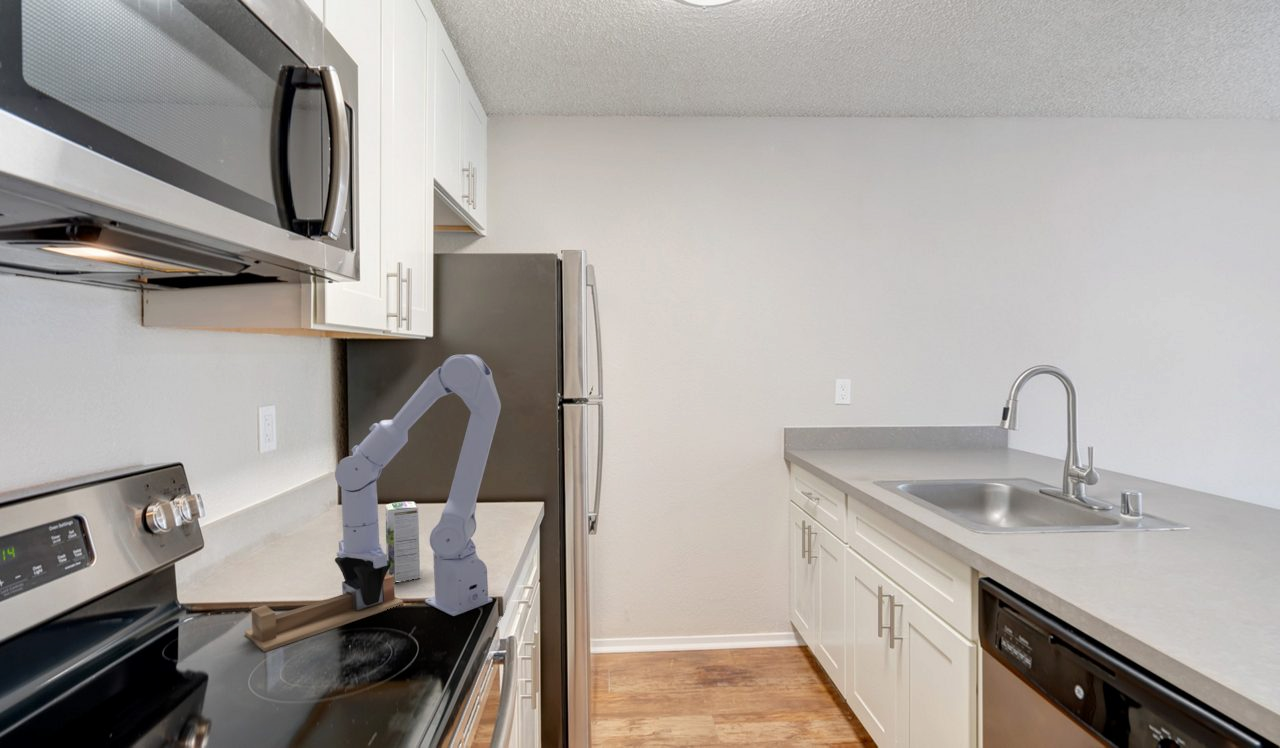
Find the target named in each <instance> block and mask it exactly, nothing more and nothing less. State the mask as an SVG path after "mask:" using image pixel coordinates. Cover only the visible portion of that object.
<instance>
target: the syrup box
mask: <svg viewBox="0 0 1280 748" xmlns="http://www.w3.org/2000/svg"><path fill="white" fill-rule="evenodd" d="M419 521H420V520H419V507H418V505H417V503H416V502H415V501H399V502H391V503H388V504H385V552H386V553H385V554H387V561H390V562H391V566H390V568H389V570H388V571H387V573H388V574H390V575H392V576H394V582H396V581H404V580H409V581H413V580H412V579H414V580H418V578H419V579H420V578H421V569H420V567H421V566H420V565H421V563H420V562H421V561H420V560H421V559H420V524H419ZM404 582H405V581H404Z"/></svg>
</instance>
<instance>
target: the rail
mask: <svg viewBox="0 0 1280 748" xmlns="http://www.w3.org/2000/svg"><path fill="white" fill-rule="evenodd" d="M382 593H383V602H381V603H378V604H375V605H372V606H369V607H366V608H363V609H360V610H355V609H354V608H353V598H352V594H351V593H346V594H343V593H342V594H339V595H337V596H333V597H330V598H326V599H324V600H320V601H317V602H313V603H311V604H310V603H309V604H308V605H304V606H301V607H298V608H295V609H291V610H288V611H284V612H281V613H278V614H276V612H275V611H274V610H273V609H271V608H270V607H269V606H267V605H266V604H265V605H261V606H258V607H254V608H251V610H250V611H251V612H250V613H251V628H249V629H247V630H245V631H244V635H245V636H246V637H247V638H248V639H249V640H251V642H253V643H254V644H255V645H256V646H257V647H258V648H259V649H260V650H262V651H263V652H264V653H265V652H269V651H271V650H275V649H276V648H280V647H283V646H286V645H289V644H291V643H294V642H298V641H301V640H303V639H306V638H308V637H309V638H310V637H312V636H315V635H318V634H321V633H323V632H327V631H330V630H332V629H335V628H339V627H342V626H344V625H347V624H350V623H352V622H355V621H358V620H361V619H364V618H367V617H371V616H374V615H377V614H380V613H382V612H384V611H385V612H386V611H388V610H391V609H394V608H396V606H397V607H400V606H403V605H404V600H403V599H401V598H399V597H396V595H395V594H396V593H395V583H394V576H392V575H390V574H388V573H386V576H385V578H384V581H383V585H382ZM402 604H403V605H402ZM399 605H400V606H399ZM393 607H394V608H393ZM390 608H391V609H390ZM387 609H388V610H387Z"/></svg>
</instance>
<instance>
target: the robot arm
mask: <svg viewBox="0 0 1280 748" xmlns="http://www.w3.org/2000/svg"><path fill="white" fill-rule="evenodd" d="M453 393H454V394H455V395H457V396H458V397H459V398H460V399H462V401H463V402H464V404H465V405H466V407H467V408H468V410H469V411H470V416H469V420H468V423H467V428H466V430H465V435H464V438H463V439H464V440H463V443H462V445H461V449H460V453H459V457H458V461H457V465H456V468H455V471H454V477H453V479H452V483H451V488H450V492H449V495H448V498H447V500H446V502H445V506H444V508H443V510H442V513H441V515H440V516H441V517H440V519H439V521H438V522H437V524H436V525H435V526H434V528H433V529H432V531H431V532H430V536H429V545H430V547H431V549H432V553H433V573H434V574H433V575H434V576H433V578H434V582H433V583H434V596H432V597H428V598H425V600H424V602H425V603H426V604H427V605H430V606H431V607H434V608H436V609H438V610H440V611H442V612H444V613H445V614H448V615H450V616H452V617H455V616H458V615H461V614H464V613H467V612H468V611H469V612H470V611H471V610H474V609H477V608H479V607H481V606H485V605H486V604H489V603H491V602H493V598H492V597H490V596H489V591H488V590H489V589H488V588H489V585H488V582H489V581H488V568H487V565H486V563H485V562H484V561H483V560H482V559H480V558H479V556H478V554H477V550H476V548H477V547H476V545H475V543H474V541H473V540H472V537H473V536H474V535H475V532H476V530H477V521H476V510H477V499H478V496H479V491H480V488H481V483H482V481H483V477H484V474H485V473H484V472H485V470H486V466H487V461H488V459H489V458H488V457H489V453H490V450H491V446H492V443H493V439H494V435H495V432H496V428H497V424H498V420H499V417H500V413H501V408H502V403H501V400H500V397H499V392H498V391H497V387H496V384H495V382H494V378H493V373H492V370H491V368H489V366H488V365H487V364H486V363H485V361H484V360H483V359H482V358H481V357H480V356H478V355H476V354H472V353H471V354H470V353H467V354H460V353H459V354H454V355H451V356H449V357H447V358H446V359H445V360H444V362H443V363H442V365H441V366H439V367H437V368H436V369H435V370H434V371H432V372H431V373H430V375H428V376H427V378H426V379H425V380H424V381H423V383H422V384H420V386H419V387H418V388H417V390H415V392H414V393H413V394H412V395H411V397H410V398H409V399H408V400H407V401H406V402H405V403H404V404H403V406H402V407H401V409H400V410H399V411H398V412H397V413H396V415H394V417H393V418H392V419H383V420H380V422H375V423H373V424H372V425H371V426H370V427H369V431H370V433H369V434H367V436H366V437H365V438H364V439H363V440H362V441H361V443H359V445H358V444H357V445H354V446H353V447H352V448H351V452H352V455H350V456H346V457H344V458H342V459H341V460H339V463H338V464H337V466H336V467H335V471H334V478H335V481H336V483H337V485H338V486H339V487H340V489H341V490H340V491H341V515H342V516H341V517H342V537H343V538H342V539H341V540H338V551H337V552H336V556H337V557H335V558H334V562H335V563H336V565H337V566H338V568H339V569H340V572H341V574H342V576H343V579H344V581H347V580H351V579H354V578H359V580H360V583H361V587H362V593H363V599H364V602H365V605H367V606H368V605H371V604H374V603H377V602H379V598H380V594H381V589H382V585H383V581H384V578H385V576H386V573H387V571H388V570H389V568H390V566H391V562H390V561H387V554H386V553H385V552H384V550H383V548H382V544H381V543H380V528H379V526H380V525H379V524H380V523H379V507H378V505H379V503H378V488H377V487H378V486H377V480H378V479H379V477H381V473H382V469H385V467H386V466H387V465H388V464H389V463H390V462H391V461H392V460H393V458H394V457H395V456H396V455H397V454H398V453H399V452H400V451H401V449H402V448H403V447H404V446H405V445H406V444H407V443H408V441H409V434H408V433H409V429H411V427H413V425H414V424H415V423H416V422H417V421H418V420H419V419H420V418H421V417H422V416H423V415H424V414H425V413H426V412H427V411H429V408H431V407H432V406H433V404H435V402H436V401H437V400H439V399H440V398H442V397H445V396H447V395H450V394H453Z"/></svg>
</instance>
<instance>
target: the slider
mask: <svg viewBox="0 0 1280 748" xmlns="http://www.w3.org/2000/svg"><path fill="white" fill-rule="evenodd" d="M341 584H342V585H341V588H342V589H341V590H342V595H343V594H346V593H351V594H352V598H353V608H354V609H355V610H360V609H363V608H366V607H369V606H372V605H375V604H378V603H381V602H383V593H382V589H381V594H380V598H379V602H377V603H374V604H371V605H368V606H367V605H365V602H364V599H363V593H362V587H361V583H360V580H359V578H354V579H351V580H347V581H345V580H344V581H341Z"/></svg>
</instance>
